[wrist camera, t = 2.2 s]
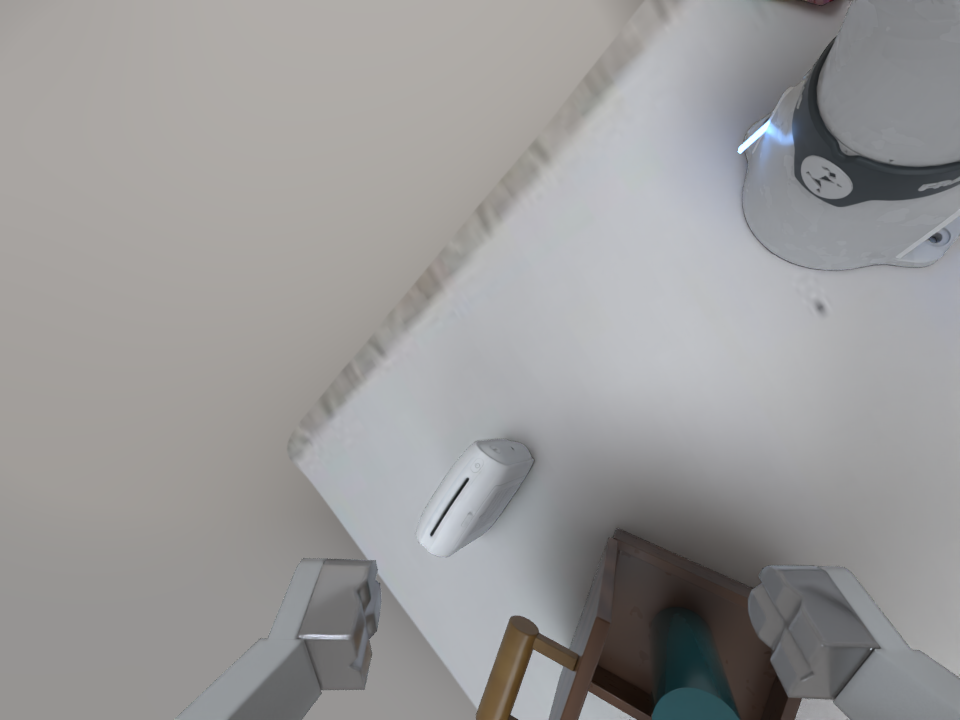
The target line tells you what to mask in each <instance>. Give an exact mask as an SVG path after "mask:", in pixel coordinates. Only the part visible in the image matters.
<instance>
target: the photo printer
mask: <svg viewBox="0 0 960 720" xmlns="http://www.w3.org/2000/svg"><path fill="white" fill-rule="evenodd" d="M533 461H534V459H533V458H531V454H530V452H529V450H528V449H527V447H526V446H524V445H523V444H522V443H519V442H516V441H509V440H508V439H495V440H481V441H475V442H474V443H473V444H472V445H470V446H469V447H468V448H467V449H466V450H465V451H464V453H463V454H462V455H461V456H460V457H459V459H458V460H457V461H456V463H455V464H454V465H453V467H452V468H451V469H450V471H449V472H448V473H447V475H446V476H445V478H444V479H443V481H442V482H441V484H440V485H439V487H438V488H437V490H436V491H435V493H434V494H433V496H432V498H431V499H430V501H429V503H428V504H427V506H426V508H425V510H424V512H423V514H422V516H421V518H420V520H419V523H418V526H417V529H416V538H417V540H418V542H419V543H420V544H421V545H423V546H424V547H425V548H426V549H427V551H428V552H429V553H431V554H433V555H435V556H438V557H449V556H451V555H452V554H454V553H455V552H457V551H458V550H460V549H461V548H463V547H464V546H466V545H467V544H469V543H470V542H472V541H474V540H475V539H477V538H478V537H480V536H481V535H483V534H484V533H485V532H486V531H487V530H488V529H489V528H490V527H491V526H492V525H493V524H494V522H495V521H496V520H497V518H498V517H499V516H500V514H501V513H502V511H503V510H504V508H505V507H506V506H507V504H508V503H509V501H510V500H511V498H512V497H513V495H514V494H515V492H516V491H517V489H518V488H519V486H520V485H521V483H522V482H523V480H524V478H525V477H526V475H527V474H528V472H529V470H530V468H531V466H532V464H533Z"/></svg>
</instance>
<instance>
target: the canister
mask: <svg viewBox="0 0 960 720" xmlns="http://www.w3.org/2000/svg"><path fill="white" fill-rule="evenodd" d="M649 642H650V687H651V720H741V717H740V714H739V711H738V708H737V705H736V702H735V699H734V696H733V693H732V690H731V687H730V684H729V681H728V678H727V675H726V672H725V668H724V665H723V662H722V659H721V656H720V653H719V650H718V647H717V644H716V641H715V638H714V635H713V632H712V630H711V628H710V627H709V625H708V624H707V622H706V621H705V620H704V619H703V618H702V617H701V616H699V615H698V614H697V613H695V612H693V611H691V610H689V609H686V608H683V607H669V608H666V609H664V610H662V611H660V612H659V613H658V614H656V616H655V617H654V618H653V620H652V622H651V625H650V630H649Z"/></svg>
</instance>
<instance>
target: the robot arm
mask: <svg viewBox="0 0 960 720" xmlns="http://www.w3.org/2000/svg"><path fill="white" fill-rule="evenodd" d="M744 150H745V152H746V157H747V160H748V170H747V175H746V179H745V183H744V187H743V195H742V202H743V210H744V214H745V218H746V220H747V223H748V225H749V227H750V229H751V231H752V232H753V234H754V235H755V236H756V238H757V239H758V240H759V241H760V242H761V243H762V244H763V245H764V246H765V247H766V248H767V249H768V250H770V251H771V252H773V253H774V254H776V255H777V256H779V257H781V258H783V259H784V260H787V261H789V262H791V263H794V264H797V265H800V266H803V267H808V268H813V269H820V270H848V269H855V268H860V267H866V266H871V265H878V264H889V265H896V266H903V267H926V266H929V265H931V264H933V263H934V262H936V261H937V260H938V259H939V258H941V257H942V256H943V255H944V253H945V252H946V251H947V250H948V249H949V247H950V246H951V245H952V244H953V243H954V241H955V240H956V239H957V238H958V237H959V236H960V0H852V2H851V4H850V7H849V9H848V12H847V14H846V17H845V19H844V22H843V24H842V26H841V29H840V31H839V33H838V35H837V36H836V37H835V38H834V39H833V40H832V41H831V43H830V44H829V45H828V46H827V47H826V49H825V50H824V52H823V53H822V55H821V56H820V58H819V59H818V60H817V62H816V63H815V64H814V66H813V68H812V69H811V70H810V71H809V72H808V73H807V74H806V75H805V76H804V78H803V81H802V82H800V83H799V84H798V85H796V86H795V87H789V88H788V89H787V90H786V91H785V92H784V93H783V95H782V96H781V98H780V100H779V102H778V104H777V105H776V107H775V109H774V111H773V112H772V113H770V114H769V115H767V116H766V117H764V118H763V119H761V120H760V121H758V122H757V123H755V124H754V125H753V126H752V127H751V128H750V129H749V130H748V132H747V134H746V136H745V139H744V143H743V144H742V145H741V146H740V147H739V149H738V152H739V153H740V154H741V153H742V152H743V151H744ZM931 236H934V237H935V238H936V239H937V243H933V242H931V241H930V240H929V237H931ZM377 571H378V569H377V564H376V560H351V559H328V558H303V559H302V560H301V561H300V563H299V564H298V566H297V567H296V570H295V572H294V575H293V577H292V580H291V583H290V584H289V587H288V589H287V592H286V594H285V597H284V599H283V601H282V604H281V607H280V609H279V611H278V614H277V616H276V619H275V621H274V623H273V626H272V628H271V631H270V633H269V636H268V638H264V639H263V638H262V639H261V638H260V639H259V640H258V641H257V642H256V643H255V644H254V645H253V646H251V647H250V648H249V649H248V650H247V651H246V652H245V653H244V654H243V655H242V656H241V657H240V658H239V659H238V660H237V661H236V662H234V663H233V664H232V666H230V667H229V668H228V669H227V670H226V671H225V672H224V673H223V674H222V675H221V676H220V677H219V678H218V679H216V680H215V681H214V682H213V683H212V684H211V685H210V686H209V687H208V688H207V689H206V690H205V691H204V692H203V693H202V694H201V695H200V696H199V697H197V698H196V699H195V700H194V701H193V702H192V703H191V704H190V705H189V706H188V707H187V708H186V709H185V710H184V711H183V712H182V713H180V714H179V715H178V716H177V717H176V718H175V719H174V720H302V719H303V717H304V716H305V715H306V713H307V712H308V711H309V710H310V708H311V707H312V705H313V704H314V703H315V702H316V700H317V699H318V698H319V696H320V695H321V694H322V692H321V690H364V689H365V685H366V680H367V676H368V671H369V666H370V661H371V657H372V650H371V645H370V640H369V639H370V638H371V637H372V636H373V635H374V633H375V632H376V631H377V628H378V622H379V617H380V609H381V587H380V583H379V582H378V581H377V580H376V576H377ZM759 578H760V580H761V581H762V583H761V584H759V585H758V586H756V587H755V588H753V589H752V590H751V593H750V595H749V597H748V613H749V617H750V620H751V623H752V626H753V628H754V630H755V632H756V634H757V636H758V638H759V639H761V640H762V641H763V642H764V643H765V644H766V645H768V646H769V647H770V648H771V656H770V662H771V664H772V666H773V668H774V670H775V672H776V674H777V676H778V678H779V680H780V682H781V684H782V686H783V688H784V690H785V692H786V694H787V695H788V697H789V698H809V699H830V700H834V701H833V703H834V704H835V705H836V706H837V707H838V708H839V709H840V710H841V711H842V712H843V713H844V714H845V715H846V716H847V717H848V718H849V719H850V720H960V678H959V677H958V676H956V675H955V674H953V673H952V672H950V671H949V670H948V669H946V668H945V667H943V666H942V665H940V664H939V663H938V662H936V661H935V660H933V659H932V658H930V657H929V656H928V655H926V654H925V653H923V652H922V651H920V650H913V649H911V648H910V647H909V646H908V644H907V643H906V642H905V640H904V639H903V638H902V637H901V635H900V634H899V633H898V631H897V630H896V629H895V628H894V626H893V625H892V624H891V622H890V621H889V620H888V619H887V617H886V616H885V615H884V613H883V612H882V611H881V609H880V608H879V607H878V606H877V604H876V603H875V602H874V600H873V599H872V598H871V597H870V595H869V594H868V593H867V591H866V590H865V589H864V588H863V586H862V585H861V584H860V582H859V581H858V580H857V578H856V577H855V576H854V575H853V574H852V572H850V571H849V570H848V569H846V568H845V567H840V566H814V565H768V566H766V567H764V568H762V570H761V572H760V574H759Z"/></svg>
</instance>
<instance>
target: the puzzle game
mask: <svg viewBox="0 0 960 720" xmlns="http://www.w3.org/2000/svg"><path fill="white" fill-rule="evenodd" d="M802 1H806V2H809V3H813V4H817V5H823V4H825V3H828V2H831V1H833V0H802Z"/></svg>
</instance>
